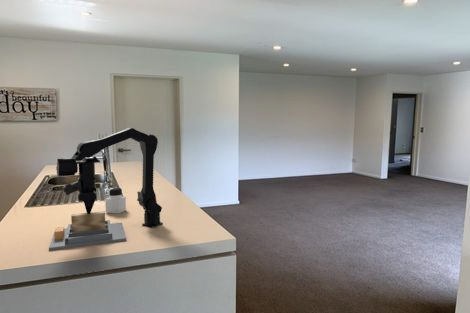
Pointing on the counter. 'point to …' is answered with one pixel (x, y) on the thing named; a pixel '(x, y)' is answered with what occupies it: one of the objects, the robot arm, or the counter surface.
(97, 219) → the oak divider
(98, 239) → the slotted rack
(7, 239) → the counter surface
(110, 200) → the medicine bottle
